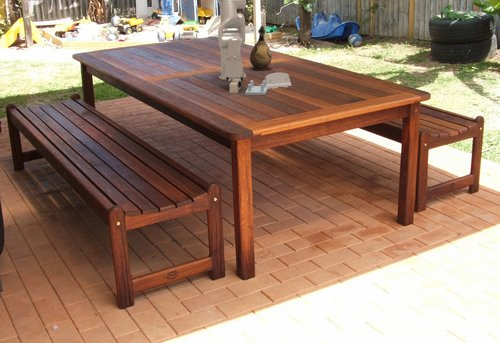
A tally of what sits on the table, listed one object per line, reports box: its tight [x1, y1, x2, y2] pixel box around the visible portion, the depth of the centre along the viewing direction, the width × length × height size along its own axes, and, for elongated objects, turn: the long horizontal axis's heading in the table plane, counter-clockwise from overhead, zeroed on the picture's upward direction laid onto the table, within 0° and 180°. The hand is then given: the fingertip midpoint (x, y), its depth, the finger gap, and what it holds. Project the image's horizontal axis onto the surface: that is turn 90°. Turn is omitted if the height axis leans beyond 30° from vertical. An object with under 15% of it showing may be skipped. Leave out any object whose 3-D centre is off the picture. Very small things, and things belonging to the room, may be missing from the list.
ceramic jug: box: [249, 25, 273, 71], centre depth 493 cm, size 17×15×30 cm
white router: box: [264, 72, 292, 90], centre depth 439 cm, size 17×5×10 cm, turn 108°
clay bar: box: [229, 78, 242, 94], centre depth 432 cm, size 16×4×6 cm, turn 173°
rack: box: [244, 79, 269, 96], centre depth 427 cm, size 18×12×6 cm, turn 173°
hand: (235, 87), depth 432 cm, fingers closed on clay bar, 4 cm apart
